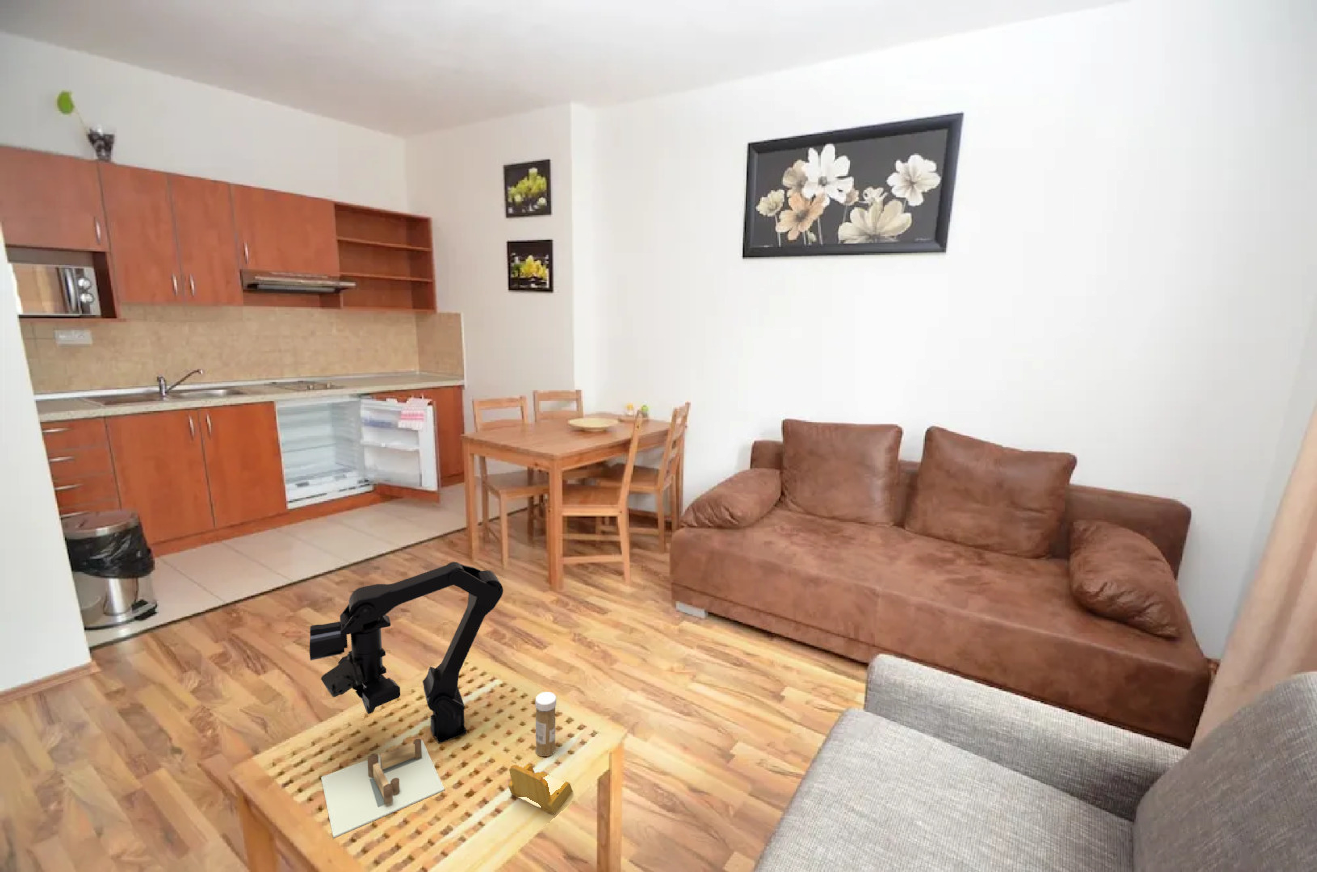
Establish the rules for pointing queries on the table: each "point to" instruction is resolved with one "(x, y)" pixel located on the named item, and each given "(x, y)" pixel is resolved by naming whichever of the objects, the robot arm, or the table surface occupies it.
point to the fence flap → (383, 784)
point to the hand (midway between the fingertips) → (370, 712)
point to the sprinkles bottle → (545, 723)
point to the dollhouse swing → (537, 788)
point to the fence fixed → (395, 760)
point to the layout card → (376, 791)
